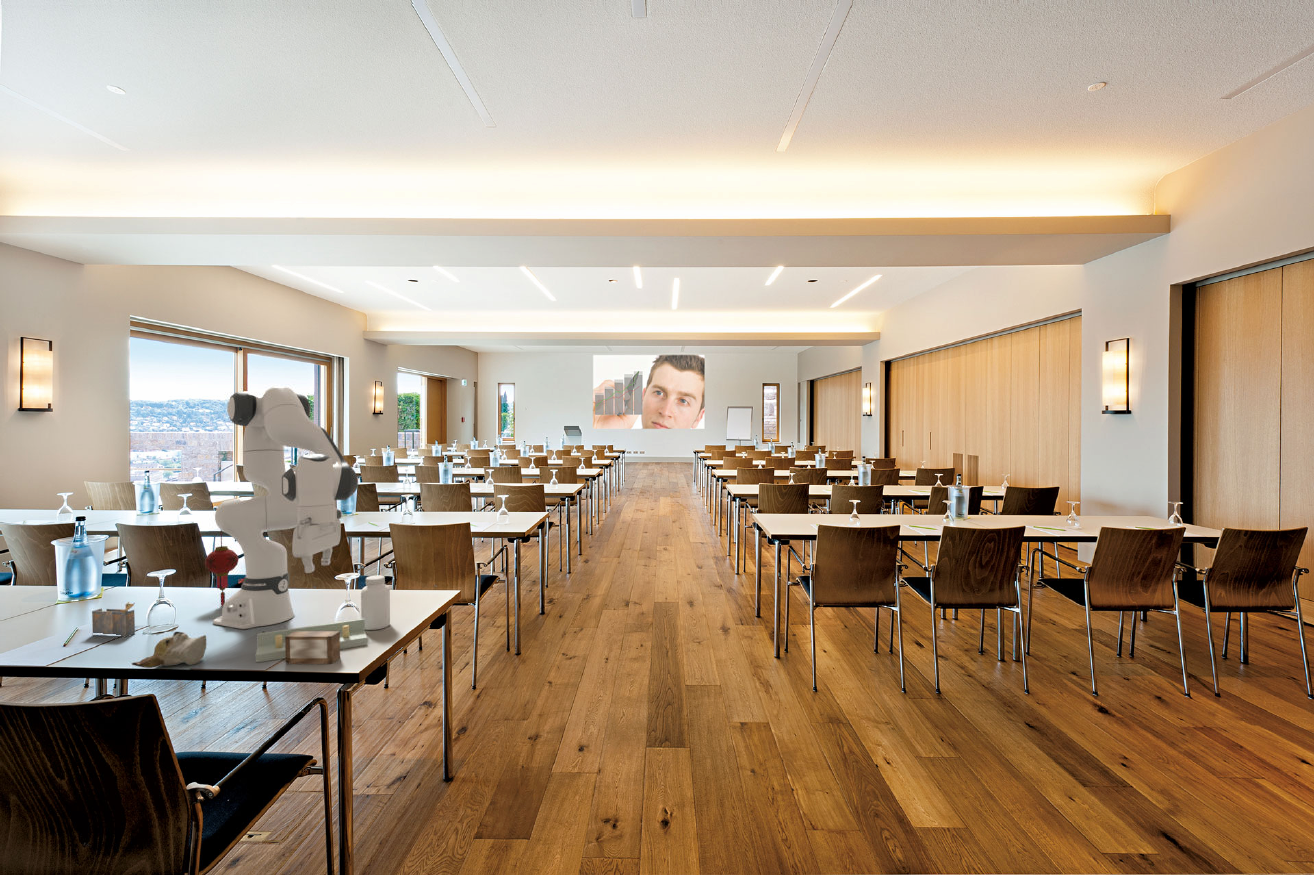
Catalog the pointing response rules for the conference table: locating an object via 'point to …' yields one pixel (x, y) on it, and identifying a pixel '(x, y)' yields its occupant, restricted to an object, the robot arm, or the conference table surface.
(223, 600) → the lantern
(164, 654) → the ceramic sculpture
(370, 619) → the pill bottle
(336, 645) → the wooden box
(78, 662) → the conference table surface
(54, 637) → the conference table surface
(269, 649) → the ledge
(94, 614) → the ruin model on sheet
